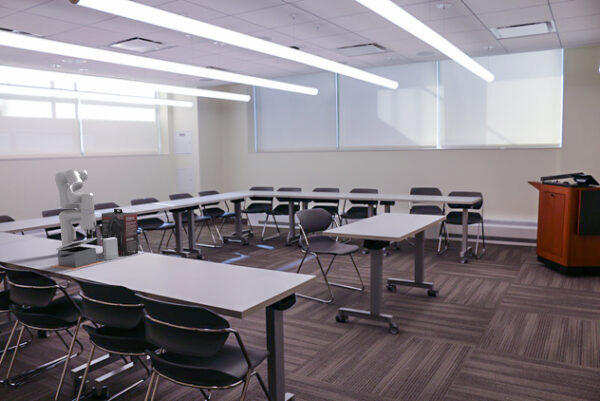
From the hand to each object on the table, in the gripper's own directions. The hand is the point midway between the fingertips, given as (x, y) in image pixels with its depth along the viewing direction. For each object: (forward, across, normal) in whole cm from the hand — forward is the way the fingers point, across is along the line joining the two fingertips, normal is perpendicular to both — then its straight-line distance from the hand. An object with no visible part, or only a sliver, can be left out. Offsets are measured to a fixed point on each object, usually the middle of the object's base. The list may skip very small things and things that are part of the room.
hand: (89, 239), depth 317 cm
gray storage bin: (+16, -4, -7) cm, 18 cm away
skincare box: (+17, +2, +15) cm, 23 cm away
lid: (+3, -4, -7) cm, 8 cm away
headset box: (+17, -8, +33) cm, 38 cm away
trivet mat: (+16, -4, -7) cm, 18 cm away
